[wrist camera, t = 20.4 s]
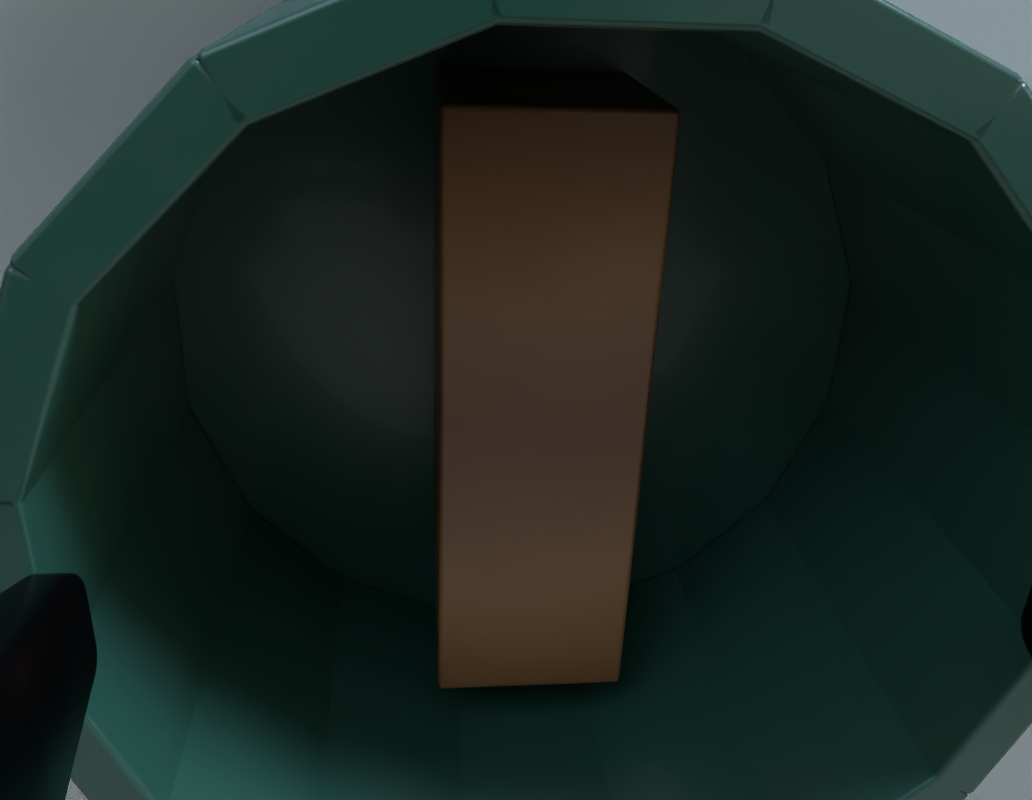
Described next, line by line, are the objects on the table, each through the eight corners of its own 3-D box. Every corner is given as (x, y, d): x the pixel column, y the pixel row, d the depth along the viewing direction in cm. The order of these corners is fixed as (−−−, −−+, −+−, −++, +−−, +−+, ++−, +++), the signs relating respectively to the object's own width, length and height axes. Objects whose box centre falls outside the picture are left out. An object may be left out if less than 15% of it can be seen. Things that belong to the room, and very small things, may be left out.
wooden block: (586, 561, 17) (620, 684, 14) (433, 565, 16) (438, 691, 14) (627, 70, 13) (682, 108, 10) (434, 66, 13) (440, 103, 10)
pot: (944, 608, 18) (1185, 919, 13) (24, 636, 17) (-178, 1010, 11) (1130, -42, 13) (1660, -17, 8) (-145, -97, 12) (-670, -115, 6)
